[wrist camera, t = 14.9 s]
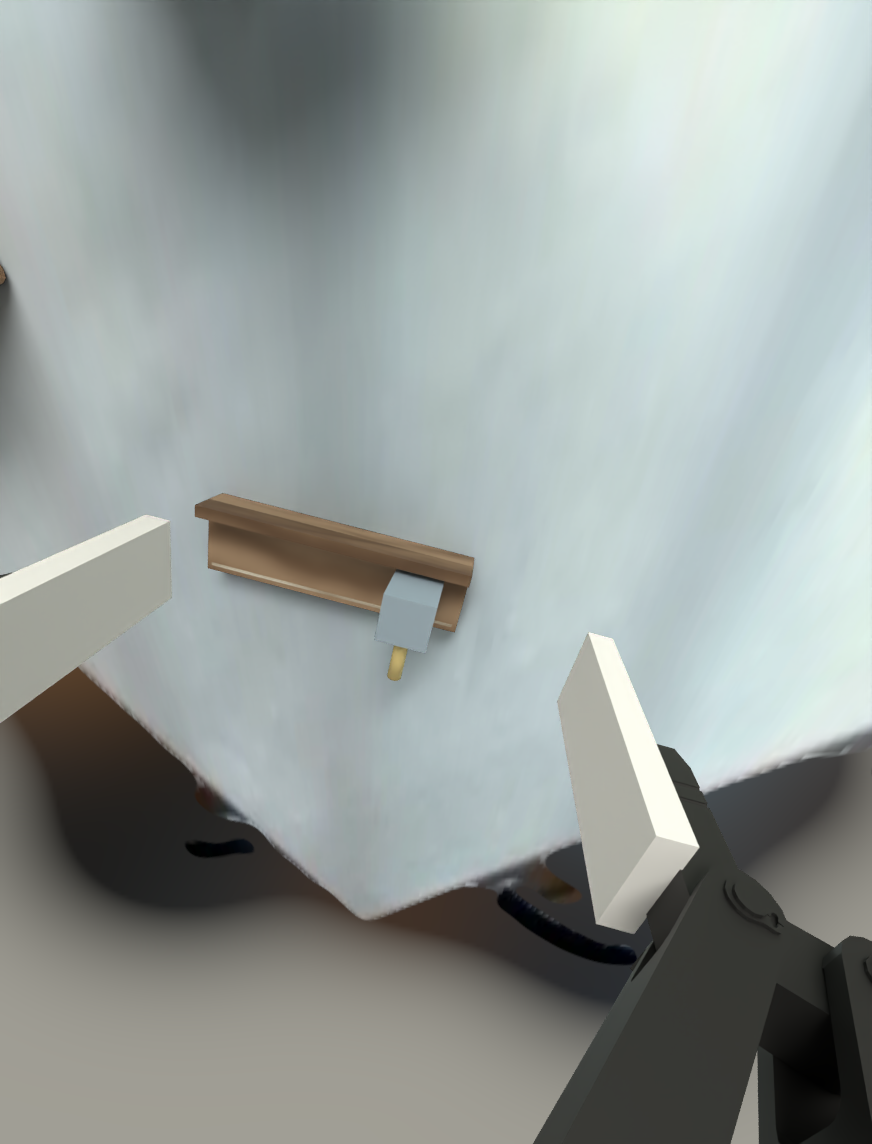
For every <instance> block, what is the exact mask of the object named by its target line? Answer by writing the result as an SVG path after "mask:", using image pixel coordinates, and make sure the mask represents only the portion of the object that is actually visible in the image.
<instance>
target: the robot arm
mask: <svg viewBox="0 0 872 1144" xmlns="http://www.w3.org/2000/svg"><path fill="white" fill-rule="evenodd" d="M171 598H172V591H171V539H170V521H169V520H165V519H161V518H157V517H154V516H150V515H144V516H141V517H139V518H137V519H135V520H132V521H130V522H128V523H126V524H123V525H121V526H119V527H116V528H114V529H112V530H110V531H107V532H105V533H103V534H100V535H98V536H96V537H94V538H91V539H89V540H87V541H85V542H82V543H80V544H78V545H75V546H73V547H71V548H69V549H66V550H64V551H62V552H59V553H57V554H55V555H53V556H50V557H48V558H46V559H44V560H41V561H39V562H37V563H34V564H32V565H30V566H28V567H25V568H23V569H21V570H18V571H16V572H14V573H8V574H4V575H0V723H1V722H2V721H4V720H5V719H6V718H8V717H9V716H11V715H12V714H13V713H14V712H16V711H17V710H19V709H20V708H21V707H23V706H24V705H26V704H27V703H28V702H30V701H31V700H32V699H34V698H35V697H36V696H38V695H39V694H41V693H42V692H43V691H45V690H46V689H47V688H49V687H50V686H52V685H53V684H54V683H56V682H57V681H58V680H60V679H61V678H63V677H64V676H65V675H67V674H68V673H69V672H71V671H72V670H74V669H75V668H76V667H78V666H79V665H80V664H82V663H83V662H85V661H86V660H87V659H89V658H90V657H91V656H93V655H94V654H95V653H97V652H98V651H100V650H101V649H102V648H104V647H105V646H106V645H108V644H109V643H111V642H112V641H113V640H115V639H116V638H117V637H119V636H120V635H122V634H123V633H124V632H126V631H127V630H128V629H130V628H131V627H132V626H134V625H135V624H137V623H138V622H139V621H141V620H142V619H143V618H145V617H146V616H148V615H149V614H150V613H152V612H153V611H154V610H156V609H157V608H159V607H160V606H161V605H163V604H164V603H165V602H167V601H168V600H169V599H171ZM557 703H558V709H559V715H560V720H561V726H562V732H563V737H564V743H565V749H566V754H567V760H568V766H569V771H570V777H571V783H572V789H573V794H574V800H575V806H576V811H577V817H578V823H579V828H580V834H581V840H582V846H583V851H584V857H585V862H586V868H587V874H588V880H589V885H590V891H591V897H592V903H593V908H594V914H595V920H596V924H599V925H603V926H606V927H610V928H614V929H617V930H621V931H625V932H628V933H632V934H634V933H635V932H636V930H637V929H638V928H639V927H640V925H641V924H642V922H643V921H644V920H645V919H646V917H647V918H648V922H649V926H650V930H651V934H652V937H653V941H652V942H651V943H650V944H649V945H648V947H647V948H646V949H645V950H644V952H643V953H642V954H641V955H640V957H639V958H638V959H637V960H636V962H635V963H634V964H633V965H632V967H631V968H630V969H631V970H632V971H633V972H632V974H631V976H630V977H629V979H628V981H627V983H626V984H625V986H624V988H623V989H622V991H621V993H620V995H619V997H618V998H617V1000H616V1001H615V1003H614V1005H613V1007H612V1008H611V1010H610V1012H609V1013H608V1015H607V1017H606V1019H605V1020H604V1022H603V1024H602V1026H601V1027H600V1029H599V1031H598V1032H597V1034H596V1036H595V1038H594V1039H593V1041H592V1043H591V1045H590V1047H589V1048H588V1050H587V1051H586V1053H585V1055H584V1057H583V1058H582V1060H581V1062H580V1064H579V1065H578V1067H577V1069H576V1070H575V1072H574V1074H573V1076H572V1077H571V1079H570V1081H569V1083H568V1084H567V1086H566V1088H565V1090H564V1091H563V1093H562V1095H561V1096H560V1098H559V1100H558V1101H557V1103H556V1105H555V1107H554V1108H553V1110H552V1112H551V1114H550V1115H549V1117H548V1119H547V1120H546V1122H545V1124H544V1126H543V1128H542V1129H541V1131H540V1133H539V1134H538V1136H537V1138H536V1139H535V1141H534V1143H533V1144H730V1143H731V1140H732V1136H733V1133H734V1129H735V1126H736V1122H737V1119H738V1115H739V1112H740V1108H741V1105H742V1101H743V1097H744V1094H745V1091H746V1087H747V1084H748V1080H749V1077H750V1073H751V1070H752V1066H753V1063H754V1059H755V1056H756V1052H757V1051H758V1112H759V1113H758V1114H759V1144H872V941H869V940H867V939H865V938H863V937H856V936H849V937H848V938H846V939H844V940H843V941H842V942H841V943H839V944H838V945H837V946H836V947H835V948H834V947H832V946H830V945H829V944H827V943H825V942H823V941H821V940H820V939H818V938H816V937H814V936H813V935H811V934H809V933H807V932H805V931H803V930H802V929H800V928H798V927H797V926H795V925H793V924H791V923H790V922H788V921H787V920H786V918H785V916H784V914H783V911H782V910H781V908H780V907H779V905H778V904H777V903H776V901H775V900H774V899H773V897H772V896H771V894H769V892H768V891H767V890H766V889H764V888H763V887H762V886H761V885H760V884H759V883H758V882H757V881H756V880H755V879H753V878H751V877H750V876H749V875H747V874H746V873H744V872H743V871H741V870H739V869H738V867H737V865H736V863H735V861H734V859H733V857H732V855H731V853H730V850H729V848H728V846H727V844H726V842H725V840H724V838H723V836H722V834H721V832H720V829H719V827H718V825H717V823H716V821H715V819H714V817H713V815H712V812H711V810H710V809H709V808H707V802H706V800H705V798H704V796H703V793H702V791H699V788H700V787H699V785H698V783H697V781H696V779H695V777H694V774H693V772H692V770H691V768H690V767H689V766H688V765H687V763H686V762H685V761H684V760H683V759H682V757H681V756H680V755H679V754H678V753H677V752H676V750H675V749H673V748H669V747H665V746H662V745H658V744H656V742H655V739H654V737H653V734H652V732H651V730H650V727H649V725H648V722H647V720H646V717H645V715H644V713H643V710H642V708H641V705H640V703H639V701H638V698H637V696H636V693H635V691H634V689H633V686H632V684H631V681H630V679H629V676H628V674H627V672H626V669H625V667H624V664H623V662H622V660H621V657H620V655H619V652H618V650H617V648H616V645H615V643H614V640H613V639H612V638H608V637H604V636H600V635H597V634H593V633H589V632H588V634H587V636H586V638H585V641H584V643H583V645H582V647H581V649H580V652H579V654H578V656H577V658H576V661H575V663H574V665H573V667H572V669H571V672H570V674H569V676H568V678H567V681H566V683H565V685H564V687H563V689H562V692H561V694H560V696H559V698H558V701H557Z"/></svg>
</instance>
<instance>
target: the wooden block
mask: <svg viewBox="0 0 872 1144" xmlns="http://www.w3.org/2000/svg"><path fill="white" fill-rule="evenodd" d="M5 278H6V277H5V273H4V270H3V269H2V267H1V265H0V284H2V283H4V281H5Z"/></svg>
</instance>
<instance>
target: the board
mask: <svg viewBox="0 0 872 1144" xmlns="http://www.w3.org/2000/svg"><path fill="white" fill-rule="evenodd" d="M195 517H198V518H202V519H206V520H209V539H208V568H210V569H214V570H217V571H221V572H225V573H229V574H233V575H237V576H240V577H244V578H248V579H252V580H256V581H260V582H263V583H267V584H271V585H275V586H279V587H283V588H286V589H290V590H294V591H298V592H302V593H306V594H309V595H313V596H317V597H321V598H325V599H329V600H332V601H336V602H340V603H344V604H348V605H351V606H355V607H359V608H363V609H367V610H371V611H374V612H378V613H380V609H381V604H382V599H383V594H384V592H385V590H386V588H387V586H388V585H389V583H390V581H391V579H392V577H393V575H394V573H395V571H396V569H399V570H403V571H407V572H411V573H415V574H419V575H423V576H426V577H430V578H434V579H438V580H442V581H444V585H443V589H442V592H441V596H440V600H439V604H438V608H437V612H436V616H435V619H434V623H433V627H436V628H440V629H443V630H447V631H451V632H455V629H456V626H457V622H458V619H459V615H460V612H461V608H462V605H463V601H464V598H465V594H466V590H467V587H469V585H470V582H471V578H472V572H473V564H474V558H473V557H469V556H465V555H461V554H457V553H453V552H449V551H446V550H442V549H438V548H434V547H430V546H426V545H422V544H418V543H415V542H411V541H407V540H403V539H399V538H395V537H391V536H387V535H383V534H380V533H376V532H372V531H368V530H364V529H360V528H356V527H352V526H348V525H345V524H341V523H337V522H333V521H329V520H325V519H321V518H317V517H313V516H310V515H306V514H302V513H298V512H294V511H290V510H286V509H282V508H278V507H275V506H271V505H267V504H263V503H259V502H255V501H251V500H247V499H243V498H240V497H236V496H232V495H228V494H224V493H222V494H219V495H217V496H215V497H212V498H210V499H208V500H206V501H203V502H201V503H199V504H196V505H195Z"/></svg>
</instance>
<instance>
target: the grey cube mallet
mask: <svg viewBox="0 0 872 1144" xmlns="http://www.w3.org/2000/svg"><path fill="white" fill-rule="evenodd" d="M443 585H444V581H442V580H438V579H434V578H430V577H426V576H423V575H419V574H415V573H411V572H407V571H403V570H399V569H396V571H395V573H394V575H393V577H392V579H391V581H390V583H389V585H388V586H387V588H386V590H385V592H384V594H383V599H382V604H381V609H380V614H379V619H378V624H377V628H376V633H375V638H374V640H376V641H380V642H384V643H388V644H391V645H394V648H393V653H392V657H391V661H390V666H389V670H388V675H387V676H388V678H389V679H390V680H393V681H398V680H400V679H401V675H402V671H403V667H404V663H405V658H406V654H407V650H408V649H410V650H414V651H417V652H421V653H426V650H427V646H428V642H429V638H430V634H431V631H432V627H433V623H434V619H435V616H436V612H437V608H438V604H439V600H440V596H441V592H442V589H443Z"/></svg>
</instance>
